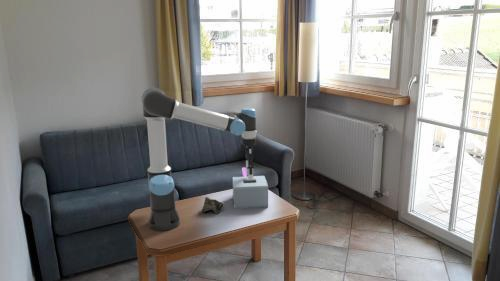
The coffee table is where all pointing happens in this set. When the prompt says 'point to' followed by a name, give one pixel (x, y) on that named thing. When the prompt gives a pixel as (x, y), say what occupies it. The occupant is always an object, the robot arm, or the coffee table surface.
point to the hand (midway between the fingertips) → (249, 175)
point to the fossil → (212, 205)
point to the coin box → (250, 192)
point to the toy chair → (244, 172)
